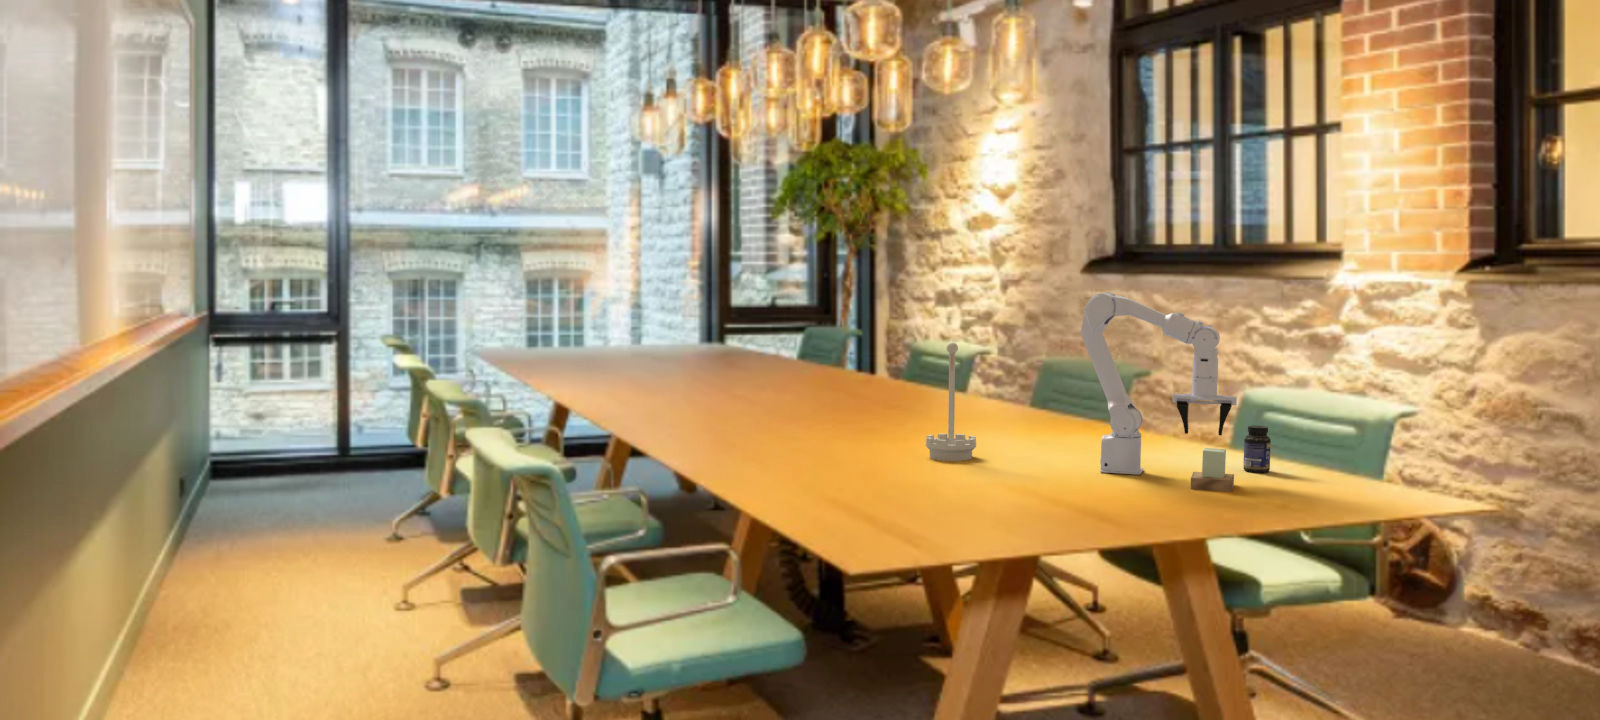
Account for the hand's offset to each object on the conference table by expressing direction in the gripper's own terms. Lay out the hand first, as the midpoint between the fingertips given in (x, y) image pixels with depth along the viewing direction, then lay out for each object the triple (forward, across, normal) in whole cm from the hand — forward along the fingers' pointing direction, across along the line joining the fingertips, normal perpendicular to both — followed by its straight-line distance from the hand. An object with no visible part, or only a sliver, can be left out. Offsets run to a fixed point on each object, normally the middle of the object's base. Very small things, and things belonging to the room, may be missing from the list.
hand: (1203, 434), depth 309 cm
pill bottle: (+11, +12, +14) cm, 21 cm away
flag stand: (+11, -63, +7) cm, 64 cm away
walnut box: (+11, +3, -12) cm, 16 cm away
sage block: (+8, +3, -12) cm, 15 cm away
